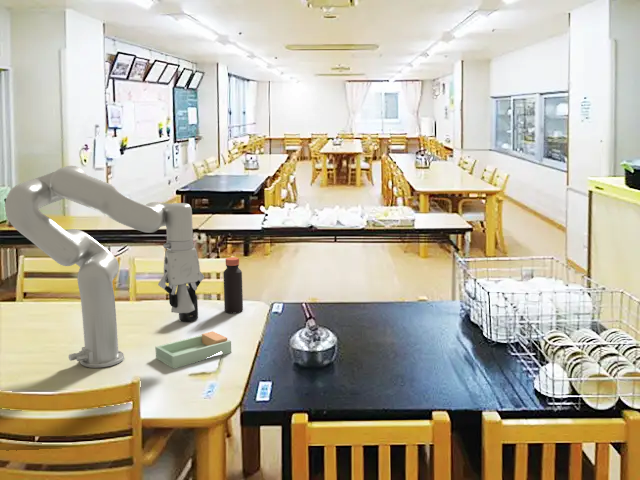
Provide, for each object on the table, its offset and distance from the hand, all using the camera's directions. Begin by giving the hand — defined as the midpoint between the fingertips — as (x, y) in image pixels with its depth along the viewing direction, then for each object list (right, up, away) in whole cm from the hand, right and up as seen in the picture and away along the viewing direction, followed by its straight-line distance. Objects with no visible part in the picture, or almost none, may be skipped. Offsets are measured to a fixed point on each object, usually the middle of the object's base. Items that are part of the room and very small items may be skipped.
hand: (182, 304), depth 205 cm
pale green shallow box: (+2, -16, +5) cm, 17 cm away
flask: (0, -2, 0) cm, 2 cm away
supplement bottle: (-6, -10, +40) cm, 42 cm away
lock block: (+8, -14, +10) cm, 19 cm away
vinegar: (+9, -7, +50) cm, 52 cm away
